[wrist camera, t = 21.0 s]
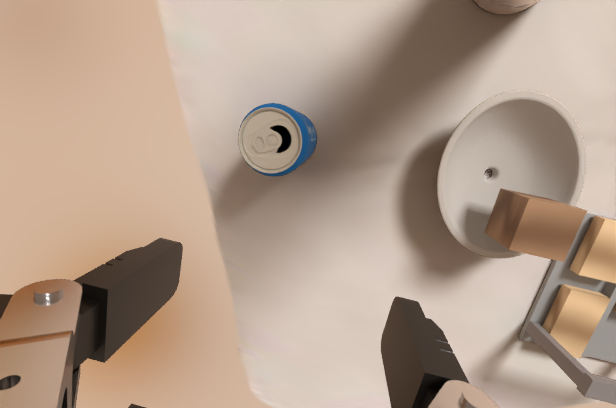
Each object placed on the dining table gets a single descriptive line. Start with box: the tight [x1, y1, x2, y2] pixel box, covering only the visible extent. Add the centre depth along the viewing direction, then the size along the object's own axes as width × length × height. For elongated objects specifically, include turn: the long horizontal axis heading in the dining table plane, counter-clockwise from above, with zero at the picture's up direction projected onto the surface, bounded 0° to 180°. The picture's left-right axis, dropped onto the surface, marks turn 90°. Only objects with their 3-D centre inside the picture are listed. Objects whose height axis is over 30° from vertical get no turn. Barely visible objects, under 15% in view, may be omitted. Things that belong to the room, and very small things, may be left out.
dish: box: [437, 90, 586, 258], centre depth 34 cm, size 18×14×5 cm
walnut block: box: [484, 188, 587, 262], centre depth 30 cm, size 5×5×5 cm
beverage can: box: [238, 103, 317, 176], centre depth 32 cm, size 6×6×12 cm
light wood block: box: [569, 215, 616, 284], centre depth 35 cm, size 7×5×2 cm, turn 168°
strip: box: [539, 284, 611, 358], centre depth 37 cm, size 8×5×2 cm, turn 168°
